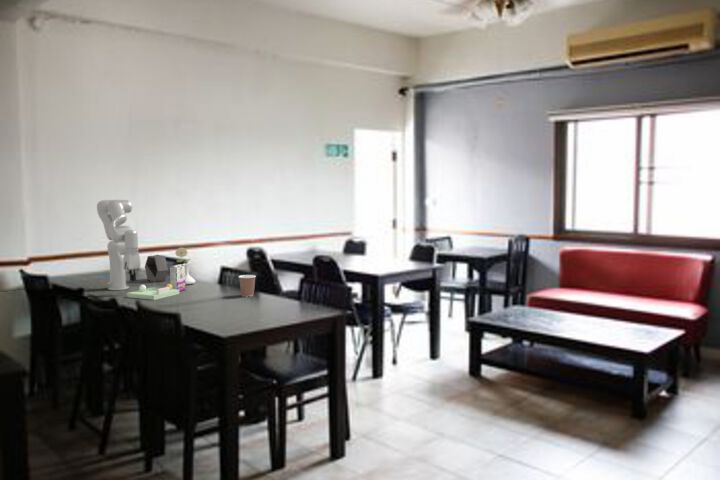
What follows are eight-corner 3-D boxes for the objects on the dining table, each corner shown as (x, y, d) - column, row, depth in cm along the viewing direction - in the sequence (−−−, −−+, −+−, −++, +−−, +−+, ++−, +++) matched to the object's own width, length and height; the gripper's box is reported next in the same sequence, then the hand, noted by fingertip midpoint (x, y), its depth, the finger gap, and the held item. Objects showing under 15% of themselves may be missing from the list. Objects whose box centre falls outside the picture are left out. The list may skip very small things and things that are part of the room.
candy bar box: (178, 289, 396) (178, 264, 394) (185, 289, 395) (185, 264, 393) (170, 292, 385) (169, 266, 384) (177, 292, 384) (176, 266, 383)
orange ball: (164, 290, 377) (164, 284, 377) (168, 289, 381) (168, 283, 380) (169, 291, 375) (169, 284, 375) (174, 290, 379) (173, 283, 379)
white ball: (137, 291, 375) (137, 284, 374) (142, 290, 378) (142, 283, 378) (142, 291, 373) (142, 285, 373) (147, 290, 377) (147, 284, 376)
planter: (142, 272, 437) (149, 249, 428) (153, 271, 443) (159, 249, 433) (152, 288, 428) (159, 265, 419) (162, 286, 434) (170, 263, 424)
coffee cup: (259, 295, 377) (259, 275, 376) (248, 297, 368) (248, 277, 367) (246, 293, 382) (245, 274, 380) (235, 296, 373) (234, 276, 371)
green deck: (126, 297, 369) (126, 288, 369) (153, 291, 389) (152, 282, 389) (154, 299, 361) (153, 290, 360) (179, 293, 381) (179, 284, 380)
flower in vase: (197, 282, 423) (196, 246, 421) (193, 285, 412) (192, 248, 410) (178, 282, 423) (177, 246, 421) (173, 285, 412) (172, 248, 409)
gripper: (136, 249, 385) (137, 278, 386) (117, 251, 371) (119, 281, 372) (145, 249, 382) (146, 279, 383) (127, 251, 368) (128, 282, 369)
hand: (133, 280), depth 378 cm, fingers closed
